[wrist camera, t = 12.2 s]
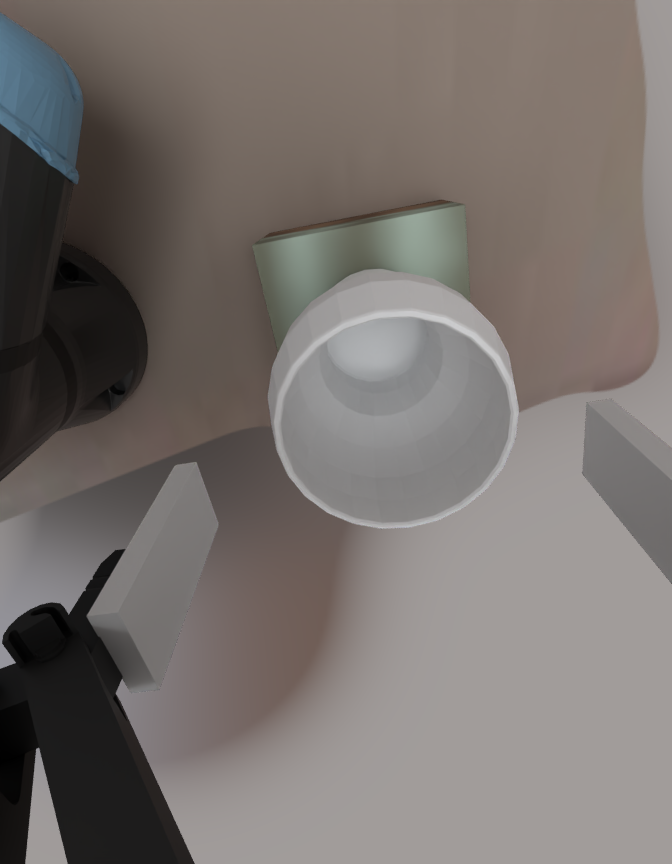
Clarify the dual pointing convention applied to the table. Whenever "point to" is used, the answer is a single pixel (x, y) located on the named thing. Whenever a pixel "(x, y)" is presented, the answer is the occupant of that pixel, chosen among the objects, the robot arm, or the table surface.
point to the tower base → (360, 255)
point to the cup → (392, 400)
